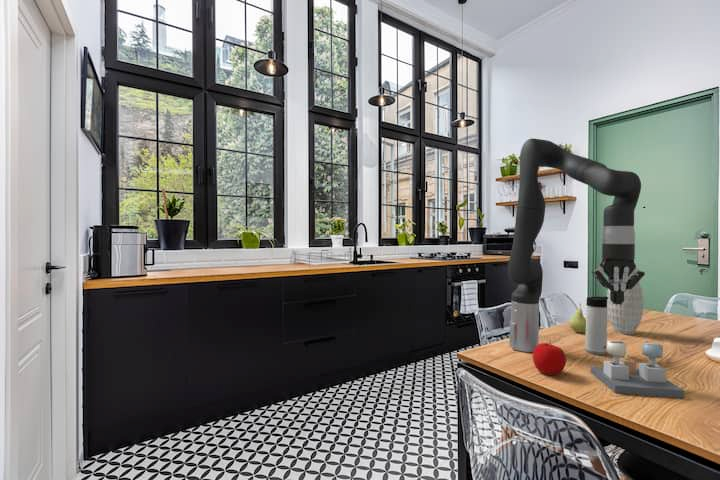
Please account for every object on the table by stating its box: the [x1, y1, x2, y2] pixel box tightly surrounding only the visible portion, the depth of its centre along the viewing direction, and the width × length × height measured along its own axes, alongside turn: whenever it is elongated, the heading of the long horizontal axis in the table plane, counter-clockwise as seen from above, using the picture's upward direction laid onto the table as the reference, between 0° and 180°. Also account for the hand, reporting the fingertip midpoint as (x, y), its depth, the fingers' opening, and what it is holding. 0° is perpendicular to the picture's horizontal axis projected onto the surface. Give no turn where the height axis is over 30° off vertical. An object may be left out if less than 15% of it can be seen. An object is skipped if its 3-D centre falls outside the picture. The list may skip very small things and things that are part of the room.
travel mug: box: [585, 295, 608, 356], centre depth 128 cm, size 6×7×20 cm
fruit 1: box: [532, 339, 567, 376], centre depth 109 cm, size 9×9×10 cm
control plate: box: [590, 360, 685, 399], centre depth 101 cm, size 16×14×6 cm
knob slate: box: [641, 341, 664, 368], centre depth 100 cm, size 4×4×6 cm
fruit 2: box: [569, 303, 586, 334], centre depth 154 cm, size 7×8×12 cm
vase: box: [606, 273, 645, 335], centre depth 154 cm, size 13×13×28 cm
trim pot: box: [619, 354, 637, 374], centre depth 105 cm, size 3×3×5 cm
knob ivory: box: [606, 339, 627, 365], centre depth 101 cm, size 4×4×6 cm
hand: (617, 303), depth 101 cm, fingers closed
